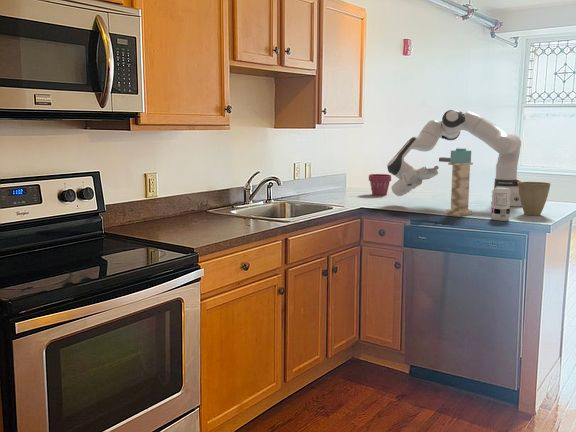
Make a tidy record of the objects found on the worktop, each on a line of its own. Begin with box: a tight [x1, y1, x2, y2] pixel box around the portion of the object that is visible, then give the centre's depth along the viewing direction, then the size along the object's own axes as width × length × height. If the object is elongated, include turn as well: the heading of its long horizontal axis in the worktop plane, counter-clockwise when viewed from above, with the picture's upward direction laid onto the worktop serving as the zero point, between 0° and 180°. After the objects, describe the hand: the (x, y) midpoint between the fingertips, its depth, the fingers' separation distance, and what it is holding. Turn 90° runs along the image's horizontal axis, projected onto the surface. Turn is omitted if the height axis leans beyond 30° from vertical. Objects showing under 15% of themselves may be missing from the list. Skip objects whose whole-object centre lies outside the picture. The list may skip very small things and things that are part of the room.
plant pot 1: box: [368, 173, 392, 197], centre depth 372 cm, size 14×14×13 cm
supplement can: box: [490, 187, 511, 221], centre depth 278 cm, size 8×8×15 cm
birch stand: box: [445, 162, 474, 217], centre depth 293 cm, size 9×9×26 cm
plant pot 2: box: [518, 181, 551, 216], centre depth 292 cm, size 15×15×16 cm
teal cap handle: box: [438, 147, 472, 163], centre depth 295 cm, size 16×7×7 cm, turn 35°
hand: (431, 167), depth 307 cm, fingers open, 8 cm apart
